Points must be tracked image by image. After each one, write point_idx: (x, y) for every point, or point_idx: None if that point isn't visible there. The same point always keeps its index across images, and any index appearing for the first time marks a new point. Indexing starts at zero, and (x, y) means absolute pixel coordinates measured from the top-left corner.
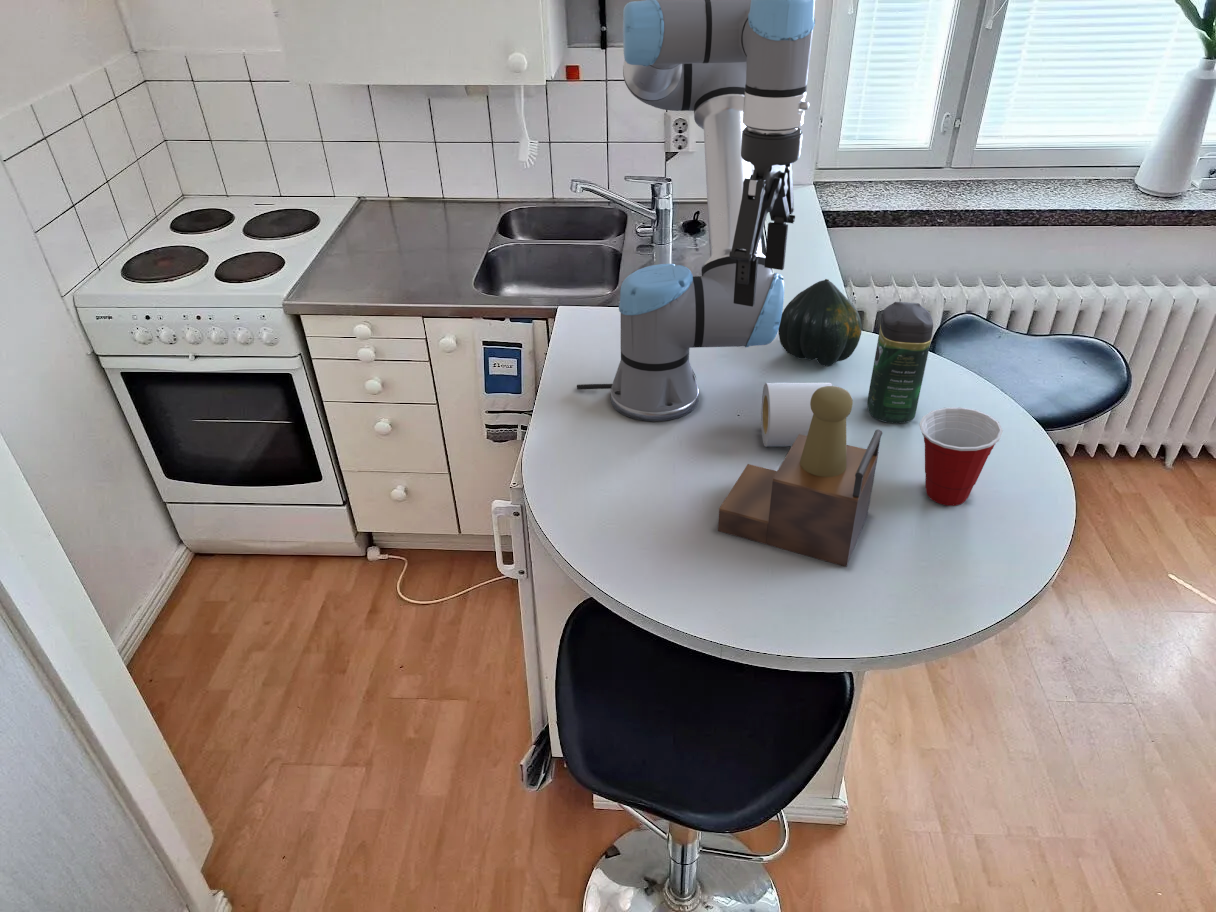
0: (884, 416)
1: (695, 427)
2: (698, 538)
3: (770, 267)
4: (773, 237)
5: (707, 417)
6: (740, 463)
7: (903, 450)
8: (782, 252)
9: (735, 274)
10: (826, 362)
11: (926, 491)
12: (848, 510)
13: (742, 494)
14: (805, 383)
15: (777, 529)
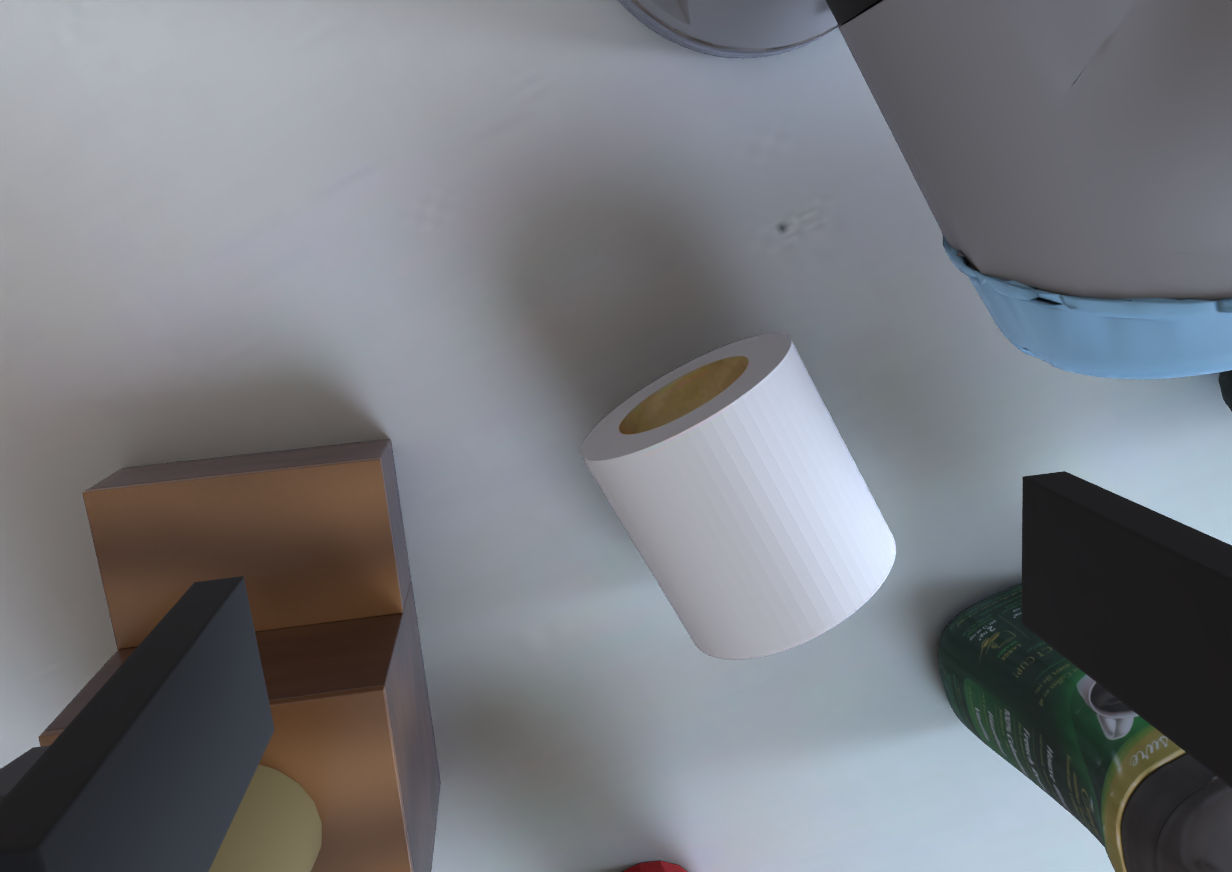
0: (944, 668)
1: (633, 122)
2: (51, 434)
3: (1026, 529)
4: (1223, 652)
5: (718, 131)
6: (501, 367)
7: (814, 749)
8: (1117, 683)
9: (78, 717)
10: (1221, 383)
11: (633, 868)
12: None
13: (201, 521)
14: (813, 527)
15: None
